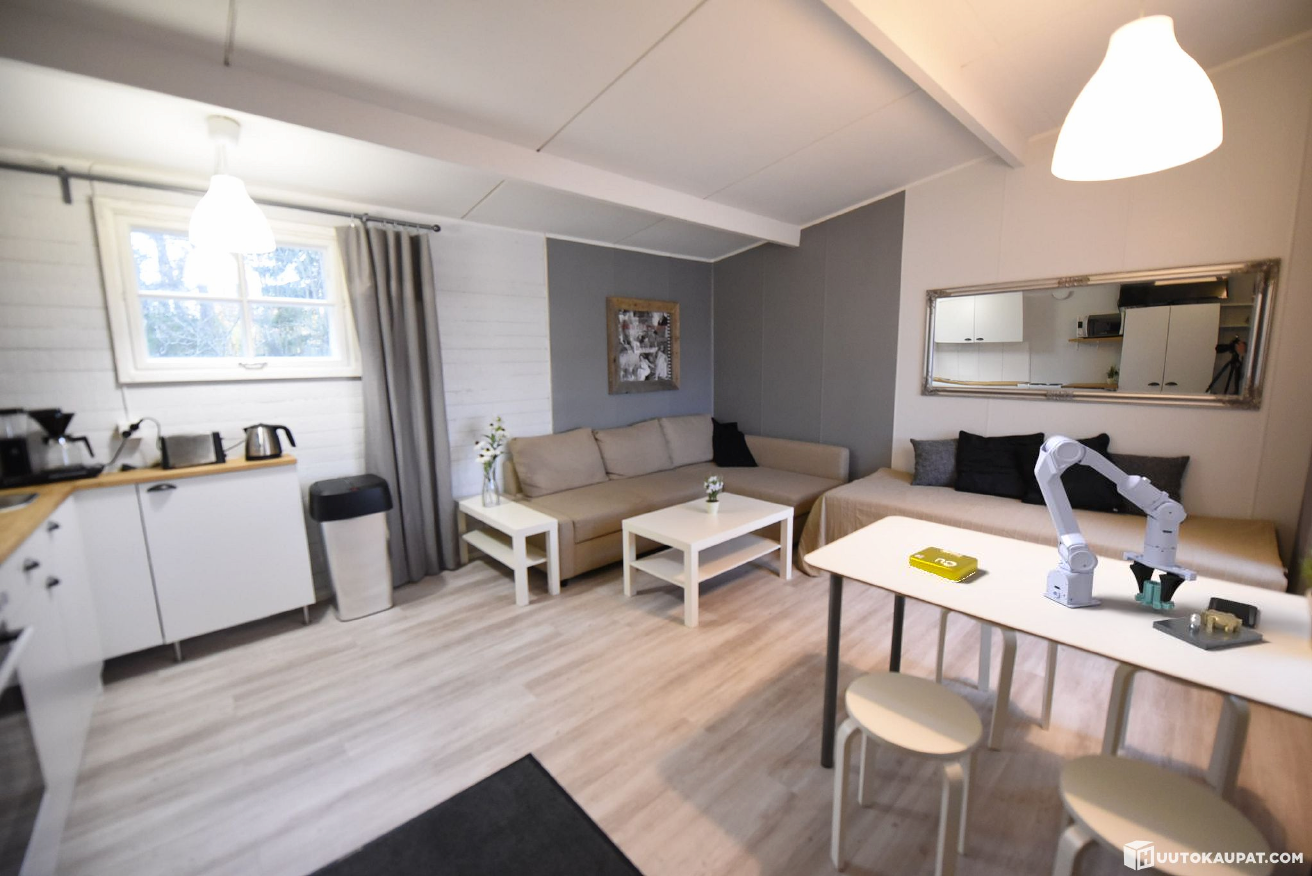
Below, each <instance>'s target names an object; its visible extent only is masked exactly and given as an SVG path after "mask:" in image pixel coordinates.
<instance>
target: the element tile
mask: <svg viewBox="0 0 1312 876" xmlns="http://www.w3.org/2000/svg"><path fill="white" fill-rule="evenodd" d="M978 563H979V561H978V559H977V557H973V556H968V555H965V554H962V553H959V552H958V553H957V552H954V551H951V550H946V549H943V548H942V549H941V548H938V547H934V546H929V547H927V548H924V549H922V550H919V551H918V552H915V553H913V554H911V555H909V557H908V565H909V564H910V566H913V567H916V568H918V569H922V570H924V571H927V572H929V573H933V574H936V575H938V576H941V577H943V578H947V579H949V580H954V581H959V580H962V579H963V578H966V577H967V576H969V575H970V574H972V573H974V572H976V571H977V572H978ZM966 579H967V578H966Z"/></svg>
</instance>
